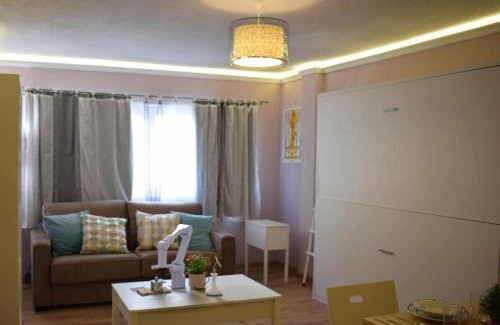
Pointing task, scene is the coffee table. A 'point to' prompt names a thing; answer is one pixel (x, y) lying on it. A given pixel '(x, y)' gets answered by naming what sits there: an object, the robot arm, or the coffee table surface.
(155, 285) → the block
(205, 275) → the coffee mug
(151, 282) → the cover
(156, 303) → the coffee table surface
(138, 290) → the board
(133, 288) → the mat
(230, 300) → the coffee table surface
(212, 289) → the flower in vase
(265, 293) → the coffee table surface
